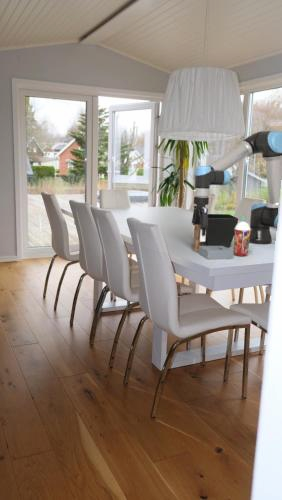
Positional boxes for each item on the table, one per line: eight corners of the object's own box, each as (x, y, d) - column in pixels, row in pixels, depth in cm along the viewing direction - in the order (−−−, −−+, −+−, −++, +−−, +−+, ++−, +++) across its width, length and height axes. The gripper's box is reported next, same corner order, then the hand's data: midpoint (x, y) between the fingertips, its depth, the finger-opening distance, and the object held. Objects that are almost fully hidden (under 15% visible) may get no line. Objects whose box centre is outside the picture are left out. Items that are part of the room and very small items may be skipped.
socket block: (222, 253, 230) (222, 245, 229) (232, 259, 217) (233, 251, 217) (198, 253, 227) (198, 245, 226) (207, 259, 215) (208, 251, 214)
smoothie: (251, 257, 223) (254, 217, 219) (234, 256, 222) (238, 217, 219) (245, 253, 231) (249, 215, 227) (230, 253, 231) (233, 215, 227)
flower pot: (202, 248, 241) (204, 217, 238) (195, 242, 259) (197, 213, 256) (236, 249, 243) (239, 218, 239) (227, 242, 261) (229, 214, 258)
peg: (200, 250, 235) (201, 224, 232) (202, 252, 231) (204, 225, 228) (193, 250, 234) (194, 224, 231) (195, 252, 230) (197, 225, 227)
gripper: (187, 194, 237) (184, 235, 241) (202, 198, 215) (199, 243, 219) (200, 194, 238) (198, 235, 243) (216, 198, 216) (213, 243, 221)
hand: (198, 239), depth 231 cm, fingers open, 10 cm apart
